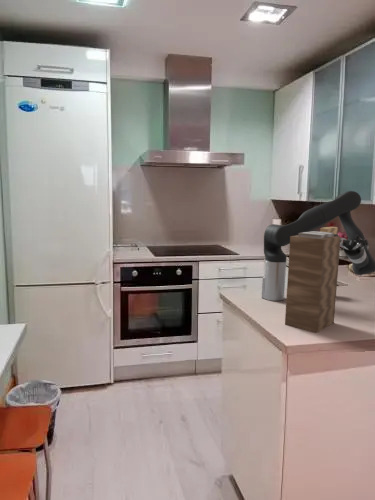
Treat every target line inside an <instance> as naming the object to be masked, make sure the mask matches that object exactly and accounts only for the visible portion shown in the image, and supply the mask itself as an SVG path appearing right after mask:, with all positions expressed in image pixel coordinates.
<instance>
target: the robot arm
mask: <svg viewBox="0 0 375 500" xmlns="http://www.w3.org/2000/svg"><path fill="white" fill-rule="evenodd" d="M361 204H362V197H361V195H360V194H359V192H357V191H354V190H348V191H345V192H344V193H341V194H338V195H337V196H336V197H335V198H334V199H333V200H331V201H328V202H325V203H324V202H323V203H322V204H318V205H316V206H314V207H312V208H309V209H307V210H305V211H303V212H302V214H301V215H300V216H299V217H298V219H296V220H295V221H293V222H291V223H288V224H284V225H282V224H269V225H268V226H267V227H266V228H265V230H264V232H263V233H264V234H263V254H264V258H265V259H264V273H263V274H264V276H263V277H262V280H261V281H262V283H261V299H265V300H268V301H271V302H272V301H275V302H276V301H278V302H279V301H284V300H285V289H286V288H285V287H286V284H285V283H286V270H287V255H286V253H285V252H283V250H282V247H286V246H287V245H290V236H297V235H298V233H303V232H311V231H315V230H316V229H319V228H321V227H323V226H324V225H326V224H327V223H329V222H331V221H332V220H335V219H336V218H337V217H338V218H339V220H340V223H341V225H342V227H343V229H344V231H345V234H346V236H347V238H348V239H346V238H345V237H341V240H340V248H342V249H343V252H344V253H345V255H346V256H347V258H348V259H349V260H350V261H351V262H352V271H353V273H354V274H355V275H357V276H363V275H367V274H372V273H375V259H374V257H373V256H372V254H371V252H370V251H369V248H370V244H369V242H368V240H367V239H366V237H365V236H364V233H363V232H362V230H361V229H360V227H359V226H357V224H356V223H355V221H354V220H353V217H352V214H351V212H352V211H355V210H357V209H358V208H359V207H360V206H361ZM334 236H339V235H338V233H337V234H334Z"/></svg>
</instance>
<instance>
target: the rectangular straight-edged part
mask: <svg viewBox="0 0 375 500" xmlns="http://www.w3.org/2000/svg"><path fill="white" fill-rule="evenodd" d="M338 229H339V227H337V226H326V227H325V226H324V227H319V230H320V231H315V230H312V231H310V232H303V233H298V237H309V238H319V239H321V238H327V237H333V236H334V234H338Z"/></svg>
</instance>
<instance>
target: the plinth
mask: <svg viewBox="0 0 375 500" xmlns="http://www.w3.org/2000/svg"><path fill="white" fill-rule="evenodd" d="M341 238H342V237H341V236H339V235H338V236H333V237H327V238H321V239H319V238H309V237H298V235H297V236H290V243H289V252H288V253H289V255H288V269H287V270H288V271H287V284H286V285H287V286H286V297H285V298H286V302H285V316H284V317H285V318H284V325H286V326H289V327H293V328H297V329H301V330H303V331H304V330H305V331H307V332H313V333H319V332H321V331H322V330H325V328H328V327H329V326H331V325H333V324H334V323H335V312H336V302H337V301H336V299H337V288H338V287H337V285H338V277H339V275H338V274H339V273H338V272H339V263H340V251H341V246H340V240H341Z"/></svg>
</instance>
